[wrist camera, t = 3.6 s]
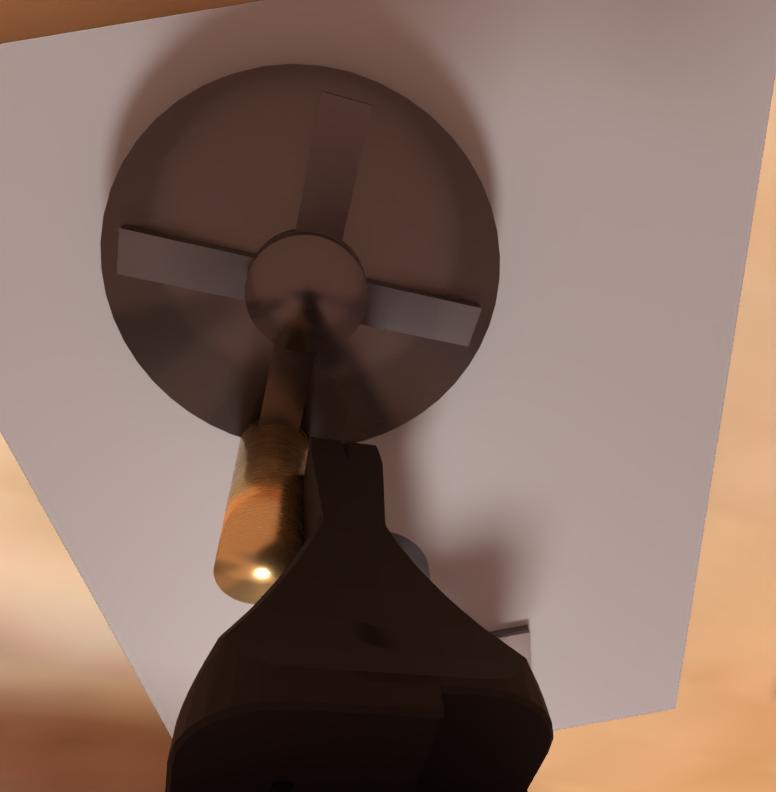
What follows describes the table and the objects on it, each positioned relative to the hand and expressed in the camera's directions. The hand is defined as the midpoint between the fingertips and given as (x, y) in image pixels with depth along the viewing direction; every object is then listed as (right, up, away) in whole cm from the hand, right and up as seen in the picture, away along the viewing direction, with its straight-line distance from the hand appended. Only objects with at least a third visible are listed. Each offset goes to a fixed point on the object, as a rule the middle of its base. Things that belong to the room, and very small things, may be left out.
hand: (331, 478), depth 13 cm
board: (+1, -1, +5) cm, 5 cm away
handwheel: (-1, +4, 0) cm, 4 cm away
